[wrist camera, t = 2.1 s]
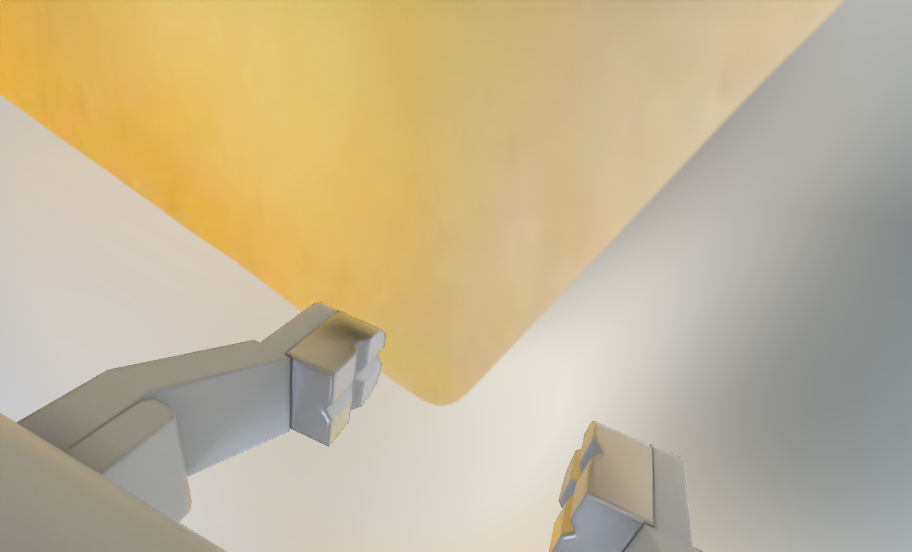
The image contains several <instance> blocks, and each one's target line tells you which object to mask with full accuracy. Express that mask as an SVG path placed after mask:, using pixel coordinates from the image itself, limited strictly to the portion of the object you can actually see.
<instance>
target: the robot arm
mask: <svg viewBox="0 0 912 552" xmlns="http://www.w3.org/2000/svg"><path fill="white" fill-rule="evenodd" d="M385 335H386V334H385V332H384V331H383V330H381V329H379V328H377V327H375V326H373V325H370V324H368V323H366V322H364V321H362V320H360V319H357V318H355V317H353V316H351V315H349V314H346V313H344V312H342V311H341V312H340V311H339V310H336V309H334V308H332V307H330V306H328V305H326V304H324V303H321V302H320V303H314V304H312V305H311V306H310V307H308V308H307V309H306V310H304V311H303V312H301V313H300V314H299V315H297V316H296V317H295V318H294V319H292V320H291V321H289V322H288V323H286V324H285V325H284V326H283V327H281V328H280V329H278V330H277V331H276V332H274V333H273V334H271V335H270V336H269V337H267V338H266V339H265V340H263V341H262V342H261V343H259V342H257V341H255V340H251V341H246V342H241V343H236V344H232V345H227V346H222V347H217V348H212V349H207V350H203V351H197V352H193V353H188V354H183V355H178V356H173V357H168V358H163V359H158V360H154V361H149V362H144V363H139V364H134V365H129V366H125V367H119V368H115V369H110V370H107V371H105V372H103V373H101V374H100V375H98V376H96V377H94V378H93V379H92V380H89V381H88V382H86V383H84V384H82V385H81V386H79V387H77V388H75V389H74V390H72V391H70V392H69V393H67V394H65V395H63V396H61V397H60V398H58V399H56V400H55V401H53V402H51V403H49V404H48V405H46V406H44V407H43V408H41V409H39V410H37V411H36V412H34V413H32V414H30V415H29V416H27V417H25V418H24V419H22V420H20V421H18V422H14V421H13V420H11V419H9V418H8V417H6V416H4V415H3V414H1V413H0V552H227V551H225V550H223V549H222V548H220V547H218V546H217V545H215V544H213V543H212V542H210V541H209V540H207V539H205V538H204V537H202V536H200V535H198V534H197V533H195V532H194V531H192V530H191V529H189V528H187V527H186V526H184V525H183V524H181V523H179V522H180V520H182V519H183V518H184V517H185V516H186V514H187V513H188V512H189V511H190V510H191V502H192V501H191V496H190V490H189V485H188V479H187V477H188V476H190V475H192V474H194V473H196V472H199V471H201V470H203V469H206V468H208V467H210V466H212V465H215V464H217V463H219V462H221V461H224V460H226V459H228V458H230V457H232V456H235V455H237V454H239V453H241V452H244V451H246V450H248V449H250V448H253V447H255V446H257V445H259V444H262V443H264V442H266V441H268V440H271V439H273V438H275V437H277V436H279V435H281V434H284V433H286V432H288V431H290V428H291V429H293V430H295V431H297V432H299V433H301V434H303V435H305V436H308V437H309V438H312V439H314V440H316V441H318V442H320V443H322V444H324V445H326V446H330V444H331V443H332V442H333V441H334V439H335V438H336V437H337V436H338V435H339V433H340V432H341V431H342V430H343V428H344V427H345V426H346V425H347V424H348V422H349V418H350V410H352V409H355V408H358V407H361V406H362V405H363V404H364V403H365V401H366V400H367V399H368V397H369V396H370V395H371V393H372V391H373V389H374V387H375V385H376V383H377V381H378V377H379V375H380V370H381V364H382V363H381V361H380V359H379V357H378V355H377V354H378V353H379V352H380V351H381V350H382V349H383V348H384V344H385ZM559 502H560V505H561V507H562V510H561V512H560V514H559V515H558V517H557V519H556V521H555V523H554V528H553V534H552V539H551V544H550V549H549V552H702V551H701V550H699V549H697V548H695V547H693V546H692V539H691V529H690V520H689V510H688V499H687V490H686V480H685V470H684V462H683V460H682V458H681V457H680V456H678V455H676V454H673V453H671V452H668V451H666V450H663V449H661V448H659V447H656V446H654V445H651V444H650V445H649V444H647V443H645V442H643V441H640V440H638V439H636V438H633V437H631V436H629V435H626V434H624V433H621V432H619V431H617V430H614V429H612V428H610V427H607V426H605V425H602V424H600V423H598V422H596V421H592V423H591V424H590V425H589V427H588V429H587V431H586V432H585V434H584V439H583V444H582V449H580V450H577V451H575V453H574V456H573V458H572V460H571V462H570V464H569V466H568V469H567V472H566V474H565V477H564V481H563V485H562V489H561V493H560V498H559Z"/></svg>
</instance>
